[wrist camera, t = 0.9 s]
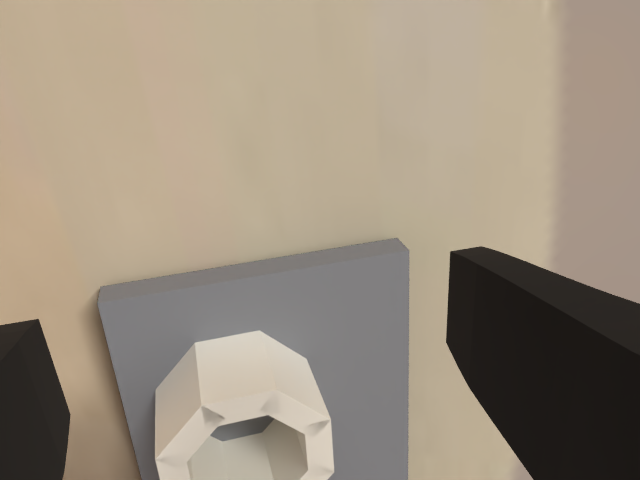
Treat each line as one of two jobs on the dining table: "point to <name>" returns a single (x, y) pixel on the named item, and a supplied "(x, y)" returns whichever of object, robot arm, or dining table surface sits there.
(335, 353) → the gray board
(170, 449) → the cream ring
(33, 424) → the robot arm
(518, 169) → the dining table surface
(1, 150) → the dining table surface
